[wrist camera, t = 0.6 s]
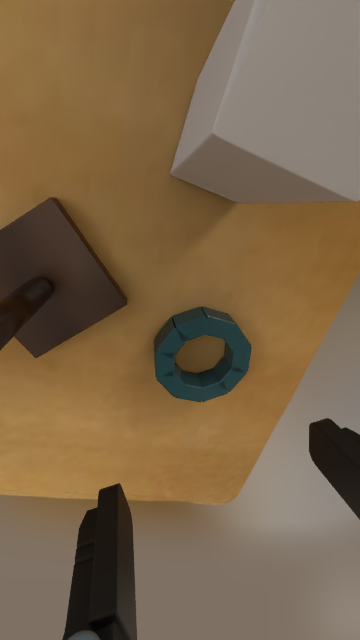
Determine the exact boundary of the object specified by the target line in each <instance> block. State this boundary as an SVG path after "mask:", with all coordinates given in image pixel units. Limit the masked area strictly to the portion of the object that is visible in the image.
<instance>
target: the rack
mask: <svg viewBox="0 0 360 640" xmlns="http://www.w3.org/2000/svg"><path fill="white" fill-rule="evenodd" d="M125 305H127V298H126V297H125V295H124V294H123V292H122V291H121V289H120V288H119V287H118V285H117V284H116V282H115V281H114V280H113V278H112V277H111V275H110V274H109V272H108V271H107V270H106V268H105V267H104V265H103V264H102V262H101V261H100V260H99V258H98V257H97V255H96V254H95V252H94V251H93V250H92V248H91V247H90V245H89V244H88V242H87V241H86V240H85V238H84V237H83V235H82V234H81V232H80V231H79V230H78V228H77V227H76V225H75V224H74V222H73V221H72V220H71V218H70V217H69V215H68V214H67V212H66V211H65V210H64V208H63V207H62V205H61V204H60V202H59V201H58V200H57V198H52V197H51V198H49V199H48V200H46V201H44V202H43V203H41V204H40V205H38V206H37V207H35V208H34V209H32V210H31V211H29V212H27V213H26V214H24V215H23V216H21V217H20V218H18V219H17V220H15V221H14V222H12V223H10V224H9V225H7V226H6V227H4V228H3V229H1V230H0V350H1V349H2V348H3V347H4V346H5V345H6V344H7V343H8V342H9V341H10V340H11V339H12V337H13V336H14V337H15V338H16V339H17V340H18V341H19V342H20V343H21V344H22V345H23V346H24V347H25V348H26V349H27V350H28V351H29V352H30V353H31V354H32V355H33V356H34V357H35V358H37V357H39V356H41V355H42V354H44V353H46V352H47V351H49V350H51V349H52V348H54V347H56V346H58V345H59V344H61V343H63V342H64V341H66V340H68V339H69V338H71V337H73V336H74V335H76V334H78V333H80V332H81V331H83V330H85V329H86V328H88V327H90V326H91V325H93V324H95V323H97V322H98V321H100V320H102V319H103V318H105V317H107V316H108V315H110V314H112V313H113V312H115V311H117V310H119V309H120V308H122V307H124V306H125Z"/></svg>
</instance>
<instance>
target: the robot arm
mask: <svg viewBox="0 0 360 640" xmlns="http://www.w3.org/2000/svg"><path fill="white" fill-rule="evenodd" d="M309 452H310V455H311V458H312V460H313V461H314V463H315V465H316V466H317V467H318V469H319V470H320V471H321V472H322V474H323V475H324V476H325V477H326V478H327V480H328V481H329V482H330V483H331V485H332V486H333V487H334V488H335V490H336V491H337V492H338V493H339V495H340V496H341V497H342V498H343V499H344V501H345V502H346V503H347V504H348V506H349V507H350V508H351V509H352V510H353V512H354V513H355V514H356V515H357V517H358V518H359V519H360V435H359V434H357V433H356V432H354V431H352V430H350V429H348V428H342V429H341V428H340V427H339V426H338V425H336V424H335V423H334V422H333V421H332V420H331V419H328V418H326V419H323V420H320V421H317V422H313V423H311V424H310V426H309ZM63 640H137V628H136V601H135V575H134V550H133V525H132V517H131V512H130V508H129V506H128V503H127V500H126V497H125V495H124V492H123V489H122V487H121V484H120V483H119V484H115V485H112V486H109V487H106V488H103V489H100V491H99V496H98V507H97V508H95V509H91V510H88V511H87V512H86V515H85V517H84V519H83V521H82V523H81V525H80V528H79V534H78V541H77V549H76V556H75V565H74V570H73V577H72V584H71V591H70V599H69V606H68V613H67V621H66V628H65V633H64V636H63Z"/></svg>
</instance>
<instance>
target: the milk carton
mask: <svg viewBox="0 0 360 640" xmlns="http://www.w3.org/2000/svg"><path fill="white" fill-rule="evenodd" d="M170 175H172V176H174V177H176V178H178V179H181V180H183V181H185V182H188V183H190V184H193V185H195V186H198V187H200V188H202V189H205V190H207V191H210V192H212V193H215V194H217V195H219V196H222V197H224V198H227V199H229V200H232V201H234V202H237V203H295V202H358V201H359V200H360V0H235V1H234V3H233V5H232V7H231V10H230V12H229V14H228V16H227V18H226V20H225V22H224V24H223V27H222V29H221V31H220V33H219V35H218V37H217V39H216V41H215V44H214V46H213V48H212V50H211V52H210V54H209V56H208V58H207V61H206V63H205V65H204V67H203V69H202V71H201V73H200V75H199V78H198V80H197V83H196V86H195V90H194V93H193V97H192V100H191V103H190V107H189V110H188V114H187V117H186V120H185V124H184V127H183V131H182V134H181V137H180V141H179V144H178V148H177V151H176V154H175V158H174V161H173V165H172V168H171V171H170Z"/></svg>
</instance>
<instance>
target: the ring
mask: <svg viewBox="0 0 360 640" xmlns="http://www.w3.org/2000/svg"><path fill="white" fill-rule="evenodd" d="M205 334H206V335H210V336H214V337H218V338H222V339H224V340H225V342H226V344H225V354H224V357H223V358H222V359H221V360H220V362H219V363H218V364H217V365H216V366H215V367H214V368H213V369H210V370H207V371H204V372H201V373H198V374H196V373H191V372H186V371H182V370H181V369H180V368H179V367H178V366H177V365H176V364H175V363H174V361H175V355H176V353H177V352H178V351H179V350H180V348H181V347H182V346H183V345H184V343H185V342H186V341H188V340H191V339H194V338H196V337H199V336H202V335H205ZM250 354H251V344H250V343H249V341H248V340H247V338H246V337H245V336H244V334H243V333H242V331H241V330H240V328H239V327H238V325H237V324H236V323H235V321H234V320H233V319H232V318H231V317H230V315H228V314H227V313H223V312H220V311H216V310H212V309H209V308H205V307H201V308H200V307H198V308H195V309H192V310H189V311H186V312H183V313H180V314H177V315H174V316H173V318H172V317H171V318H170V319H169V320H168V322H167V323H166V324H165V326H164V327H163V328H162V330H161V331H160V332H159V334H158V335H157V336H156V338H155V340H154V360H155V373H156V378H157V380H158V381H159V382H160V383H161V384H162V385H163V386H164V387H165V388H166V389H167V391H168V392H169V393H170V394H171V395H172V396H173V397H174V396H175V398H180V399H186V400H191V401H197V402H201V400H202V402H204V401H207V400H210V399H213V398H216V397H219V396H222V395H224V394H227V393H228V392H230V391H231V390H232V389H233V388H234V387H235V386H236V384H237V383H238V382H239V381H240V380H241V379H242V378H243V377H244V376H245V375H246V374H247V372H248V368H249V361H250Z"/></svg>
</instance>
